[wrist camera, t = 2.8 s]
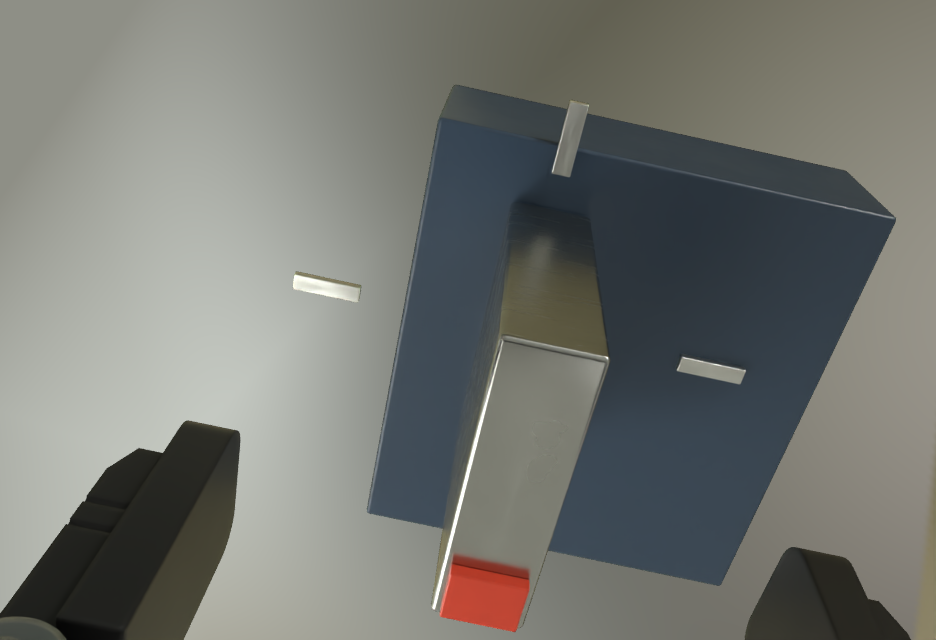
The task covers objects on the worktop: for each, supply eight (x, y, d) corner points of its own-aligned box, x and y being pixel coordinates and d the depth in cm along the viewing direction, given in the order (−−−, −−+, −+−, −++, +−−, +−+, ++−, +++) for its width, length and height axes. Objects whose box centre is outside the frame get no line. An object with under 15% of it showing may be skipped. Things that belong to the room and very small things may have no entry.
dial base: (353, 20, 18) (318, 45, 15) (864, 133, 18) (922, 179, 15) (302, 423, 23) (269, 499, 20) (700, 507, 23) (722, 592, 20)
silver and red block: (511, 198, 16) (498, 343, 11) (591, 215, 16) (614, 368, 11) (458, 423, 19) (428, 623, 14) (527, 438, 19) (522, 642, 14)
